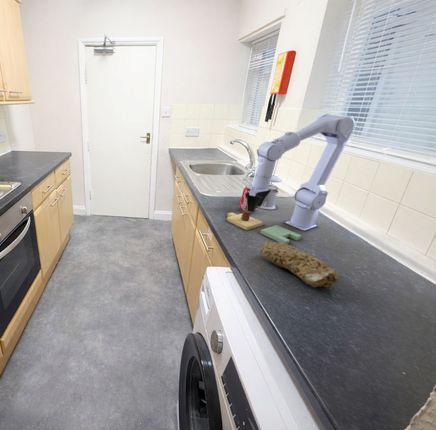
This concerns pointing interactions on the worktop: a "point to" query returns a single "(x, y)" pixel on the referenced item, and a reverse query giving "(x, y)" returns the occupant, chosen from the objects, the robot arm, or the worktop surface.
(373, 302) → the worktop surface
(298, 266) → the sponge
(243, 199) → the soda can
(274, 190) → the french press
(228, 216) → the pad
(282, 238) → the pad
